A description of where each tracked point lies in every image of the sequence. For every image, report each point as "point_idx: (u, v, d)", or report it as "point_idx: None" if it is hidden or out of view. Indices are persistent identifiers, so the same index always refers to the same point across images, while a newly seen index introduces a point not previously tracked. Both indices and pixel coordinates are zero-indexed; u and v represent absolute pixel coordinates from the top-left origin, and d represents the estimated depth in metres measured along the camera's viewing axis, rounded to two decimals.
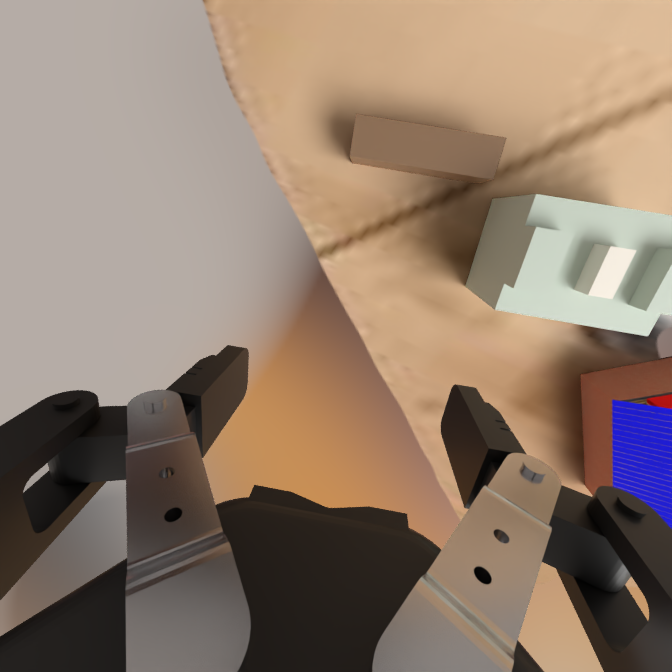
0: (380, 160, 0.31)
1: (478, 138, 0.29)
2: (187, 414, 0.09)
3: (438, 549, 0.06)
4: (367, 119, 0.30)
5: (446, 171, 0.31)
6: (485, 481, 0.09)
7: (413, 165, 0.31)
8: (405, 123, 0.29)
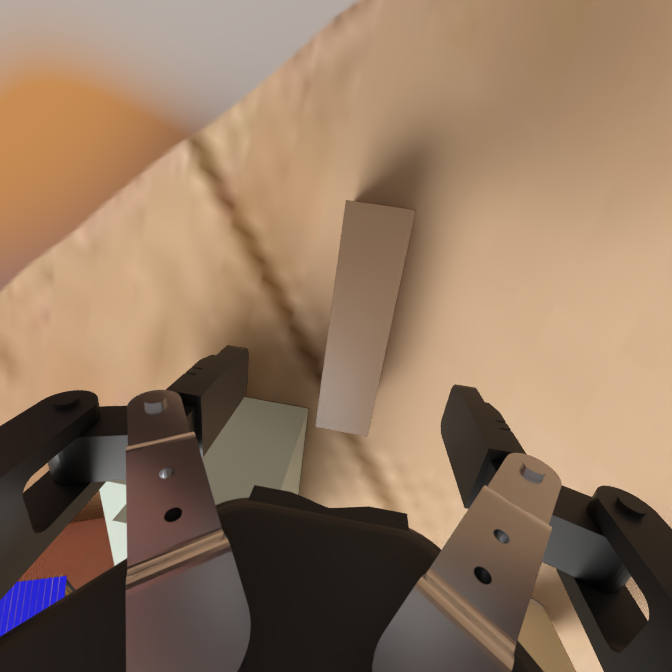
0: (339, 260, 0.17)
1: (367, 404, 0.20)
2: (187, 414, 0.09)
3: (438, 549, 0.06)
4: (404, 233, 0.16)
5: (324, 366, 0.20)
6: (485, 481, 0.09)
7: (331, 317, 0.18)
8: (393, 300, 0.17)
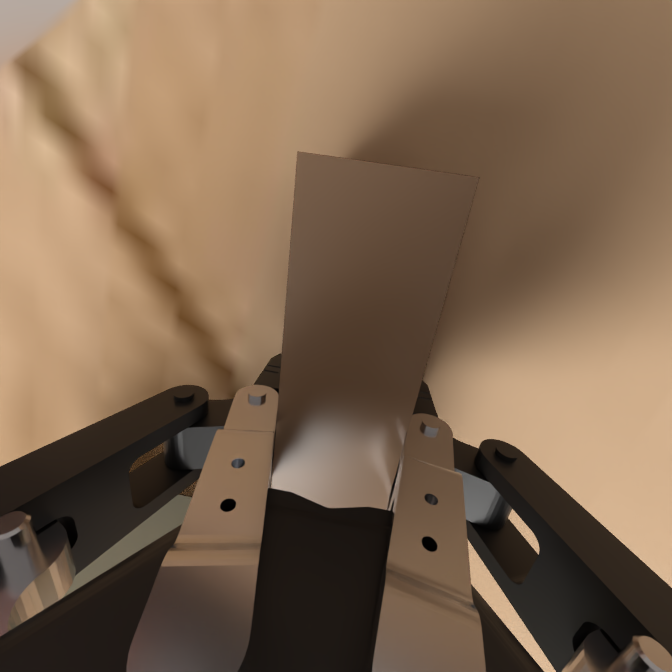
0: (289, 300, 0.07)
1: None
2: None
3: None
4: (446, 237, 0.06)
5: None
6: None
7: (280, 415, 0.09)
8: (414, 386, 0.08)
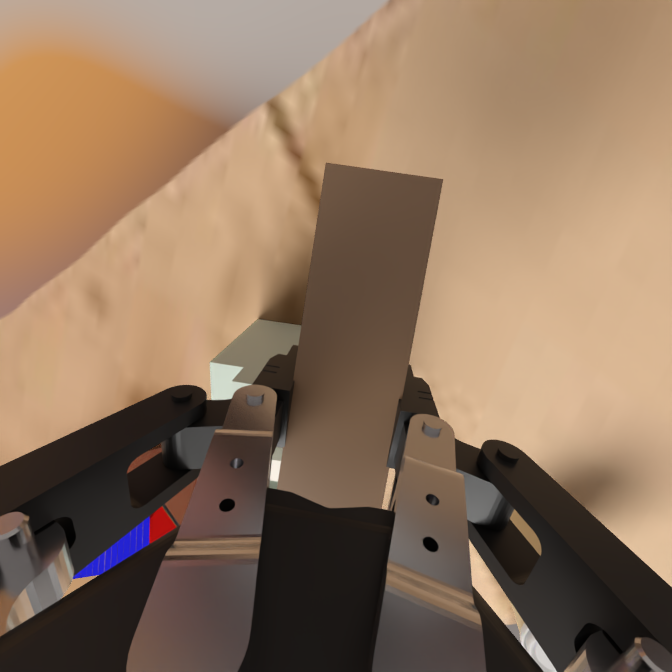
0: (313, 265, 0.10)
1: None
2: (279, 407, 0.09)
3: None
4: (425, 217, 0.09)
5: (283, 461, 0.11)
6: (399, 440, 0.10)
7: (298, 366, 0.10)
8: (409, 335, 0.10)
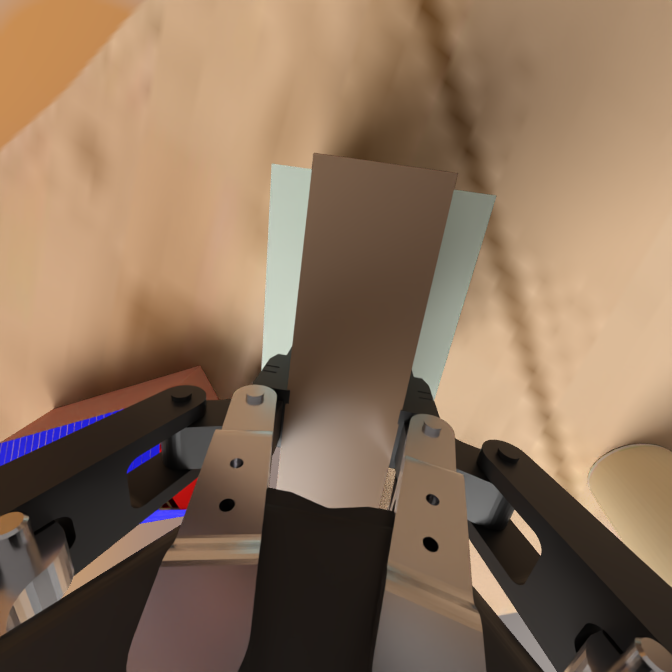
0: (302, 277, 0.09)
1: None
2: (278, 407, 0.09)
3: None
4: (433, 221, 0.08)
5: (280, 470, 0.11)
6: (400, 441, 0.10)
7: (290, 384, 0.10)
8: (410, 354, 0.09)
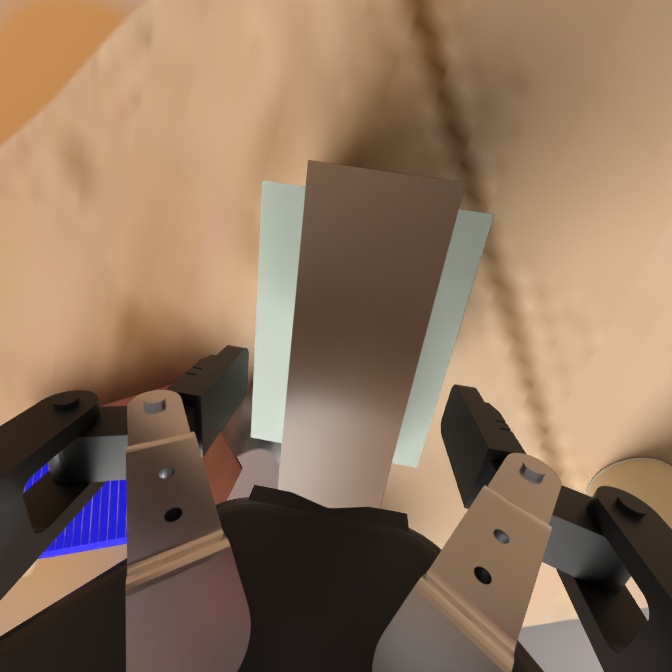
0: (299, 291, 0.08)
1: None
2: (187, 414, 0.09)
3: (438, 549, 0.06)
4: (438, 234, 0.07)
5: (280, 477, 0.11)
6: (485, 481, 0.09)
7: (289, 397, 0.09)
8: (410, 370, 0.09)
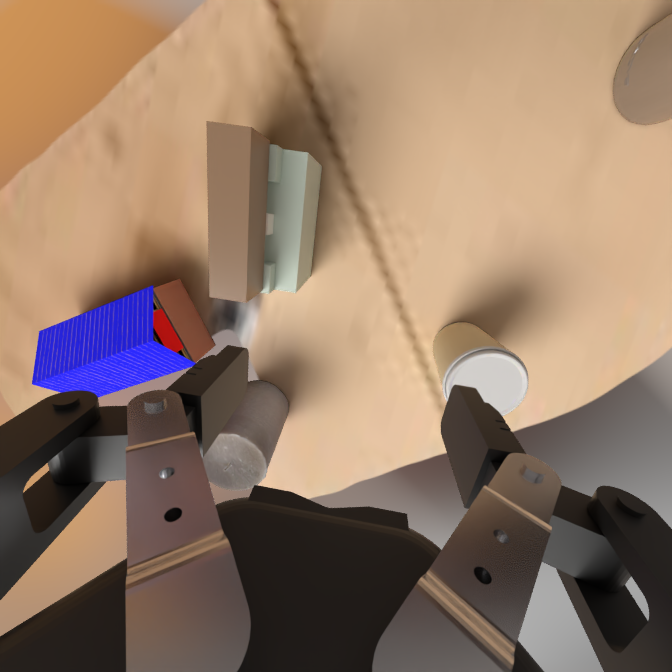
0: (208, 165, 0.26)
1: (242, 276, 0.29)
2: (187, 414, 0.09)
3: (438, 549, 0.06)
4: (246, 143, 0.25)
5: (209, 247, 0.28)
6: (485, 481, 0.09)
7: (209, 208, 0.27)
8: (247, 193, 0.26)
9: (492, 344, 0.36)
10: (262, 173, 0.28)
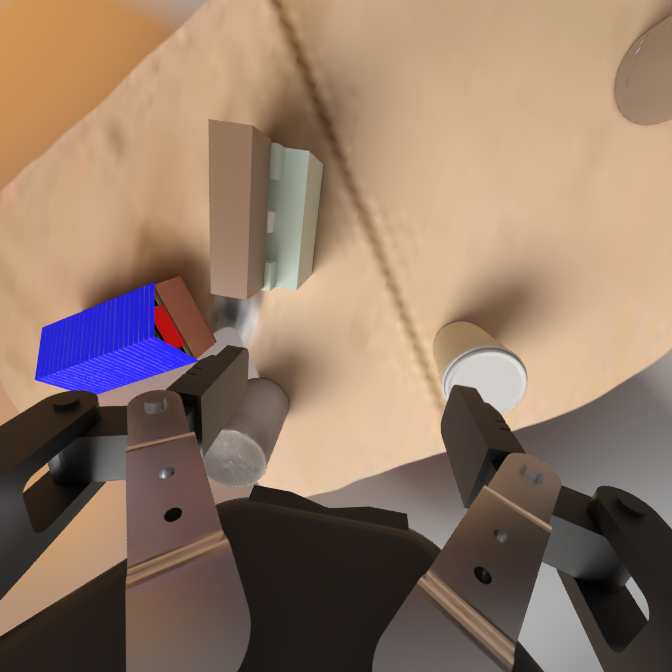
0: (210, 163, 0.26)
1: (243, 273, 0.29)
2: (187, 414, 0.09)
3: (438, 549, 0.06)
4: (248, 141, 0.25)
5: (211, 244, 0.28)
6: (485, 481, 0.09)
7: (210, 205, 0.27)
8: (248, 191, 0.26)
9: (491, 343, 0.36)
10: (263, 171, 0.29)
